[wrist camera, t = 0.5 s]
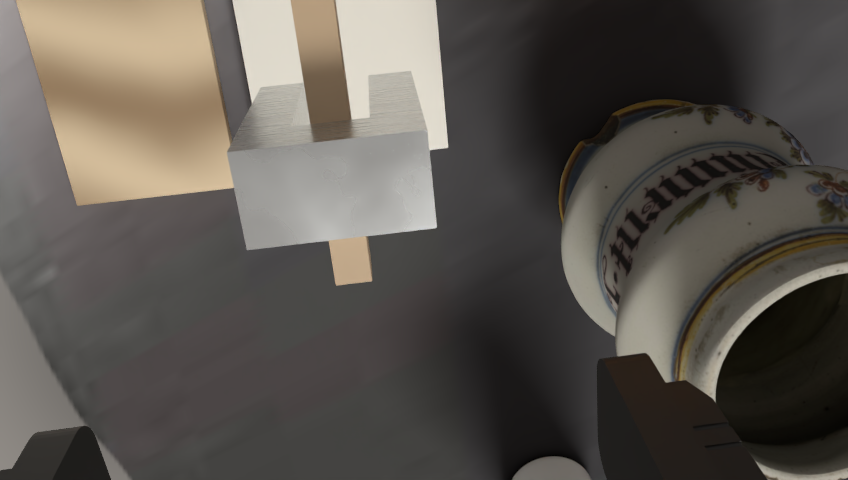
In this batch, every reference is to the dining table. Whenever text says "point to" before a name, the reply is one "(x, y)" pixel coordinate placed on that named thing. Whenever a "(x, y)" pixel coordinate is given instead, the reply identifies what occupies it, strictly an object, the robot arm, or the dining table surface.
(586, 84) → the dining table surface
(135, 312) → the dining table surface
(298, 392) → the dining table surface
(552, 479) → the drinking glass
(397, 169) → the c link
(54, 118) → the cork mat
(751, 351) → the apothecary jar
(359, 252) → the stand
